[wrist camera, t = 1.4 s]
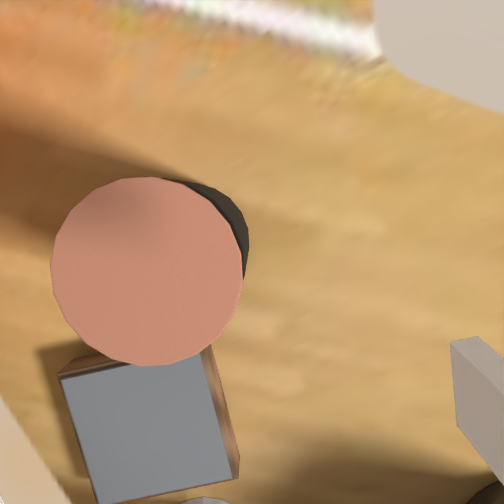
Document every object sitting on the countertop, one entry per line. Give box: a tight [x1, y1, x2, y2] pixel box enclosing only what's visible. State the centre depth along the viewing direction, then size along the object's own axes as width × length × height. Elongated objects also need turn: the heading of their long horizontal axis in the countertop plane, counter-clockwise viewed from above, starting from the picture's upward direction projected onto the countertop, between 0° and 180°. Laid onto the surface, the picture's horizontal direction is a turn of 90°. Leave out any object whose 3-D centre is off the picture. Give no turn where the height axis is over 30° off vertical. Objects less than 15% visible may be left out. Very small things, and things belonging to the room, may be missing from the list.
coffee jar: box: [50, 176, 249, 366], centre depth 32 cm, size 11×11×18 cm
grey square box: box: [57, 344, 240, 504], centre depth 41 cm, size 14×14×4 cm
